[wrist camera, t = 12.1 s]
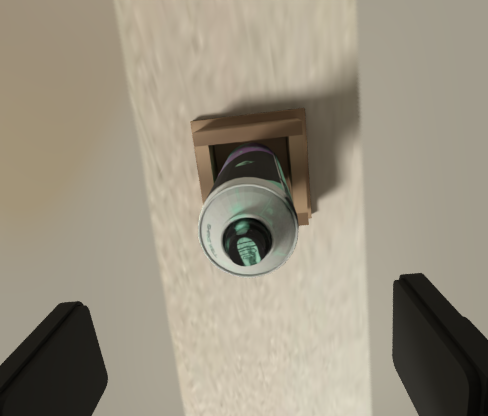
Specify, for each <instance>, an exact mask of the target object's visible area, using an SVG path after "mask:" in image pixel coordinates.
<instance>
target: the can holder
mask: <svg viewBox="0 0 488 416" xmlns="http://www.w3.org/2000/svg"><path fill="white" fill-rule="evenodd" d="M190 123H191V129H192V136H193V142H194V149H195V155H196V162H197V168H198V175H199V181H200V187H201V194H202V200H203V205H204V202H205V200H206V199H207V197H208V195H209V193H210V191H211V189H212V187H213V185H214V183H215V181H216V179H217V177H218V175H219V174H220V172H221V170H222V168H223V166H224V164H225V162H226V160H227V158H228V156H229V155H230V153H231V152H232V151H233V150H234V149H235V148H237V147H238V146H240V145H242V144H245V143H249V142H256V143H261V144H263V145H266V146H267V147H269V148H270V149H271V150H272V151H273V152H274V153H275V155H276V156H277V158H278V160H279V163H280V166H281V169H282V172H283V175H284V178H285V181H286V184H287V186H288V189H289V192H290V195H291V198H292V201H293V204H294V207H295V210H296V213H297V216H298V223H299V226H300V225H309V222H308V218H312V217H311V201H310V185H309V168H308V152H307V136H306V120H305V108H300V109H292V110H283V111H274V112H266V113H257V114H249V115H240V116H232V117H223V118H215V119H206V120H197V121H191V122H190Z"/></svg>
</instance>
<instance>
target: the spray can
mask: <svg viewBox="0 0 488 416" xmlns="http://www.w3.org/2000/svg"><path fill="white" fill-rule="evenodd" d="M198 223H199V224H198V237H199V241H200V245H201V247H202V250H203V252H204V254H205V255H206V256H207V258H208V259H209V261H210V262H212V263H213V264H214V265H215V266H216V267H217V268H219V269H220V270H222V271H223V272H225V273H228V274H230V275H233V276H237V277H242V278H254V277H261V276H264V275H267V274H270V273H272V272H273V271H275V270H277V269H279V268H280V267H281V266H282V265H283V264H285V263H286V261H287V260H288V259H289V258H290V256H291V255H292V253H293V251H294V249H295V247H296V243H297V240H298V227H299V223H298V216H297V213H296V210H295V207H294V204H293V201H292V198H291V195H290V192H289V189H288V186H287V184H286V181H285V178H284V175H283V172H282V169H281V166H280V163H279V160H278V158H277V156H276V155H275V153H274V152H273V151H272V150H271V149H270V148H269V147H267V146H266V145H263V144H261V143H256V142H249V143H245V144H242V145H240V146H238V147H237V148H235V149H234V150H233V151H232V152H231V153H230V155H229V156H228V158H227V160H226V162H225V164H224V166H223V168H222V170H221V172H220V174H219V175H218V177H217V179H216V181H215V183H214V185H213V187H212V189H211V191H210V193H209V195H208V197H207V199H206V200H205V202H204V205H203V207H202V209H201V212H200V216H199V221H198Z"/></svg>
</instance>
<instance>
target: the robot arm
mask: <svg viewBox="0 0 488 416" xmlns="http://www.w3.org/2000/svg"><path fill="white" fill-rule="evenodd" d="M392 351H393V354H392V356H393V362H394V366H395V369H396V371H397V373H398V375H399V377H400V379H401V381H402V383H403V385H404V387H405V389H406V391H407V393H408V395H409V397H410V399H411V401H412V403H413V405H414V407H415V408H416V411H417V413H418V415H419V416H488V340H487V338H485V336H484V335H483V334H482V333H481V332H480V331H479V330H478V329H477V328H476V327H475V326H474V325H473V324H472V323H471V321H470V320H468V319H467V318H466V317H463V316H462V315H461V314H460V313H459V312H458V311H457V310H456V309H455V308H454V307H453V306H452V305H451V304H450V303H449V301H447V299H446V298H445V297H444V296H443V295H442V294H441V293H440V292H439V291H438V290H437V288H436V287H435V286H434V285H433V284H432V283H431V282H430V281H429V280H428V279H427V278H426V277H425V276H424V274H422V273H415V274H403V275H400V278H399V280H395V281H394V284H393V349H392ZM107 380H108V375H107V371H106V368H105V365H104V361H103V357H102V354H101V350H100V347H99V343H98V340H97V336H96V332H95V329H94V325H93V322H92V318H91V315H90V311H89V309H88V307H87V306H84V305H83V304H82V303H81V302H79V301H77V302H65V303H60V304H59V305H57V306H56V307H55V309H54V310H53V311H52V312H51V313H50V314H49V315H48V316H47V317H46V318H45V319H44V320H43V321H42V322H41V323H40V324H39V325H38V326H37V328H36V329H35V330H34V331H33V332H32V333H31V334H30V335H29V336H28V337H27V338H26V339H25V340H24V341H23V342H22V343H21V344H20V345H19V346H18V347H17V349H16V350H15V351H14V352H13V353H12V354H11V355H10V356H9V357H8V358H7V359H6V360H5V361H4V362H3V363H2V364H1V365H0V416H92V414H93V412H94V410H95V408H96V406H97V404H98V402H99V400H100V398H101V396H102V394H103V393H104V390H105V388H106V386H107V382H108V381H107Z"/></svg>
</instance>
